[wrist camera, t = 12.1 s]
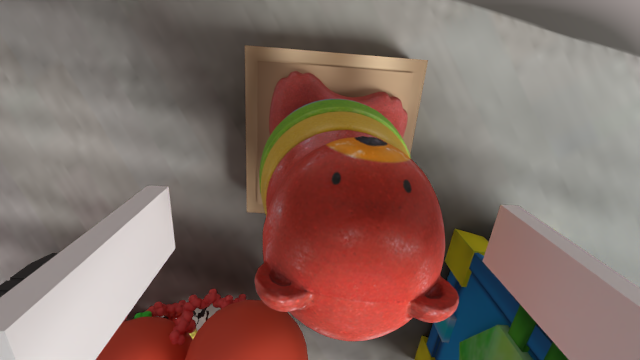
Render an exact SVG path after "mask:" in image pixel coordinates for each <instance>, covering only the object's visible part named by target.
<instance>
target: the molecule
mask: <svg viewBox="0 0 640 360" xmlns="http://www.w3.org/2000/svg"><path fill="white" fill-rule="evenodd" d="M188 300H189V302H187V303H186V301H185V300H181V301H179V303H174V304H167V305H166V304H162V302H160V301H159V302H156V303H155V304H154V306H150V307H149V308H148V309H147V310H146V311H145V312H142V313H137V314H136V315H135V316H134V319H132V320H129V321H126V319H127V316H128V315H127V316H126V318H125V319H124V321H123V322H122V323H121V325H120V326H119V328H118V329H117V330H116V332H115V333H114V335H113V336H112V337H111V339H110V340H109V342H108V343H107V344H106V346H105V347H104V349H103V350H102V351H101V353H100V354H99V355H98V357H97V358H96V360H308V354H307V347H306V342H305V339H304V336H303V333H302V331H301V330H300V328H299V326H298V324H297V323H296V322H295V320H294V319H293V318H292V317H291V316H290V315H289V314H288V312H280V311H277V310H274V309H272V308H270V307H268V306H267V305H266V304H265V303H263V301H262V300H246V295H245V294H240V295H239V298H236V299H235V300H233V296H232V295H227V296H226V297H225V298H221V296H220V295H219V294H217V290H216V289H211V290H210V291H209V294H208V295H206V296H205V297H204V299H201V298H197V296H196V295H191V296H190V297H189V299H188ZM212 303H213V306H214V307H216V308H218V307H219V308H221V310H219V311H217V312H216V313H215V314H214V315H212V316H211V317H210V318H209V319H208V315H209V311H206V312H207V317H206V322H205V323H204V324H203V325H202V327H201V328H200V329H199V330H198V331H197V330H196V325H197V324H198V322H197V324H196V323H195V321H194V320H193V319H192V317H193V316H194V315H195V316H196V313H195V311H194V310H195V309H196V308H199V309H202V311H201V313H198V316H196V317H197V318H198V321H199V318H201V317H203V316H204V314H205V310H206V309H207V307H209V306H210V304H212ZM193 314H194V315H193ZM163 315H164V316H165V317H163V318H161V316H163ZM153 316H159V317H153ZM175 318H177V319H175ZM195 324H196V325H195Z"/></svg>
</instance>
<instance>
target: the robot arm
mask: <svg viewBox="0 0 640 360" xmlns="http://www.w3.org/2000/svg"><path fill="white" fill-rule="evenodd" d="M174 250H175V240H174V231H173V223H172V214H171V205H170V196H169V187H168V186H149V185H148V186H146V187H145V188H144V189H142V190H141V191H140V192H138V193H137V194H136V195H134V196H133V197H132V198H130V199H129V200H128V201H126V202H125V203H124V204H123V205H121V206H120V207H119V208H117V209H116V210H115V211H113V212H112V213H111V214H109V215H108V216H107V217H105V218H104V219H103V220H102V221H100V222H99V223H98V224H96V225H95V226H94V227H92V228H91V229H90V230H88V231H87V232H86V233H84V234H83V235H82V236H81V237H79V238H78V239H77V240H75V241H74V242H73V243H71V244H70V245H69V246H67V247H66V248H65V249H63V250H62V251H61V252H59V253H52V254H50V255H48V256H46V257H44V258H41V259H39V260H37V261H35V262H33V263H31V264H29V265H28V266H26V267H25V268H23V269H22V270H21V271H19V272H18V273H16V274H15V275H14V276H12V277H11V278H10V280H9V281H5V282H4V283H3V284H1V285H0V360H96V358H97V357H98V355H99V354H100V353H101V351H102V350H103V349H104V347H105V346H106V344H107V343H108V342H109V340H110V339H111V337H112V336H113V335H114V333H115V332H116V330H117V329H118V328H119V326H120V325H121V323H122V322H123V321H124V319H125V318H126V316H127V315H128V314H129V312H130V311H131V310H132V308H133V307H134V305H135V304H136V303H137V301H138V300H139V298H140V297H141V296H142V294H143V293H144V291H145V290H146V289H147V287H148V286H149V284H150V283H151V282H152V280H153V279H154V277H155V276H156V275H157V273H158V272H159V270H160V269H161V268H162V266H163V265H164V264H165V262H166V261H167V259H168V258H169V257H170V255H171V254H172V252H173V251H174ZM483 263H484V264H485V265H486V266H487V267H488V268H489V269H490V271H491V272H492V273H493V274H494V275H495V276H496V277H497V278H498V280H499V281H500V282H501V283H502V284H503V285H504V286H505V288H506V289H507V290H508V291H509V292H510V293H511V294H512V296H513V297H514V298H515V299H516V300H517V301H518V302H519V304H520V305H521V306H522V307H523V308H524V309H525V310H526V311H527V313H528V314H529V315H530V316H531V317H532V318H533V319H534V321H535V322H536V323H537V324H538V325H539V326H540V327H541V329H542V330H543V331H544V332H545V333H546V334H547V335H548V337H549V338H550V339H551V340H552V341H553V342H554V343H555V344H556V346H557V347H558V348H559V349H560V350H561V351H562V352H563V354H564V355H565V356H566V357H567V358H568V359H569V360H640V287H638V286H637V285H635V284H634V283H632V282H631V281H629V280H628V279H626V278H625V277H623V276H622V275H620V274H619V273H617V272H616V271H614V270H613V269H612V268H610V267H609V266H607V265H606V264H604V263H603V262H601V261H600V260H598V259H597V258H595V257H594V256H592V255H591V254H589V253H588V252H586V251H585V250H583V249H582V248H581V247H579V246H578V245H576V244H575V243H573V242H572V241H570V240H569V239H567V238H566V237H564V236H563V235H561V234H560V233H558V232H557V231H555V230H554V229H552V228H551V227H550V226H548V225H547V224H545V223H544V222H542V221H541V220H539V219H538V218H536V217H535V216H533V215H532V214H530V213H529V212H527V211H526V210H524V209H523V208H521V207H520V206H516V205H500V208H499V211H498V214H497V218H496V221H495V224H494V227H493V230H492V233H491V236H490V239H489V243H488V246H487V249H486V252H485V255H484V258H483Z"/></svg>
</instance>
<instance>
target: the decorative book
mask: <svg viewBox="0 0 640 360" xmlns="http://www.w3.org/2000/svg"><path fill="white" fill-rule="evenodd" d="M488 243H489V242H488V241H487V240H486V239H485V238H484V237H483V236H479V235H476V234H472V233H469V232H465V231H462V230H458V229H454V232H453V236H452V239H451V242H450V245H449V249H448V252H447V255H446V258H445V262H446V264H447V265H448V267H449V268H450V271H449V275H448V278H447V281H448V282H449V283H450V284H451V285H452V286H453V288H454V289H455V290H456V291H457V293H458V296H459V303H458V306H457V309H456V310H455V312H454V313H453V314H452V315H451V316H450V317H448V318H447V319H445V320H443V321H440V322H435V323H433V325H432V328H431V331H430V334H429V337H428V338H427V337H425V336H423V335H422V336H421V340H420V343H419V346H418V349H417V353H416V356H415V360H569V359H568V358H567V357H566V356H565V355H564V354H563V352H562V351H561V350H560V349H559V348H558V347H557V346H556V344H555V343H554V342H553V341H552V340H551V339H550V338H549V337H548V335H547V334H546V333H545V332H544V331H543V330H542V329H541V327H540V326H539V325H538V324H537V323H536V322H535V321H534V319H533V318H532V317H531V316H530V315H529V314H528V313H527V311H526V310H525V309H524V308H523V307H522V306H521V305H520V304H519V302H518V301H517V300H516V299H515V298H514V297H513V296H512V294H511V293H510V292H509V291H508V290H507V289H506V288H505V286H504V285H503V284H502V283H501V282H500V281H499V280H498V278H497V277H496V276H495V275H494V274H493V273H492V272H491V271H490V269H489V268H488V267H487V266H486V265H485V264H484V263H483V258H484V255H485V252H486V249H487V246H488Z"/></svg>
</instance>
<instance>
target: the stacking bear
mask: <svg viewBox="0 0 640 360" xmlns="http://www.w3.org/2000/svg"><path fill="white" fill-rule="evenodd" d="M407 119H408V114H407V112H406V110H405V109H403V107H402V102H401V100H400V99H399V98H398V97H394V96H392V97H390V96H389V95H388V94H387V93H385V92H376V93H373V94H370V95H366V96H363V97H346V96H342V95H339V94H337V93H335V92H333V91H331V90H330V89H328V88H327V87H326V86H325V85H324V84H323V83H322V82H321V81H320V79H319V78H317V77H316V76H315V75H313V74H311V73H309V72H308V73H304V74H302V73H300V72H298V71H293V72H291V73H290V74H289V76H288V77H285V78H282V79H280V80H279V81H278V83H277V84H276V87H275V89H274V93H273V96H272V101H271V107H270V116H269V132H270V137H269V139H268V140H267V142H266V145H265V147H264V150H263V153H262V157H261V162H260V171H259V184H260V192H261V197H262V203H263V208H264V211H265V214H266V220H265V223H264V228H263V260H264V263H263V264H262V265H261V266H260V267H259V268H258V270H257V272H256V275H255V287H256V291H257V294H258V295H259V297H260V298H261V300H262V301H263V303H265V304H266V305H267V306H268V307H270V308H272V309H274V310H277V311H280V312H290V313H291V314H292V315H293V316H294V317H295V318H297V319H298V320H299V321H301V322H302V323H303V324H304V325H306V326H307V327H309V328H311V329H313V330H314V331H316V332H318V333H320V334H323V335H325V336H328V337H330V338H334V339H338V340H344V341H364V340H370V339H374V338H378V337H381V336H384V335H386V334H388V333H391V332H393V331H395V330H396V329H398V328H400V327H401V326H403V325H405V324H406V323H407V322H409V321H410V320H411V319H412V318H416V319H418V320H421V321H424V322H428V323H435V322H440V321H443V320H445V319H447V318H448V317H450V316H451V315H452V314H453V313H454V312H455V310H456V309H457V306H458V303H459V296H458V293H457V291H456V290H455V289H454V288H453V286H452V285H451V284H450V283H449V282H448V281H446V280H445V279H443V278H442V277H441V275H440V273H441V269H442V265H443V260H444V254H445V232H444V224H443V218H442V213H441V209H440V206H439V202H438V199H437V197H436V194H435V192H434V190H433V188H432V186H431V184H430V182H429V180H428V179H427V177H426V175H425V174H424V173H423V171H422V170H421V169H420V168H419V167H418V166H417V165H416V164H415V162H414V161H413V160H411V157H410V154H409V151H408V149H407V146H406V144H405V142H404V140H403V136H404V133H405V130H406V126H407Z"/></svg>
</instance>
